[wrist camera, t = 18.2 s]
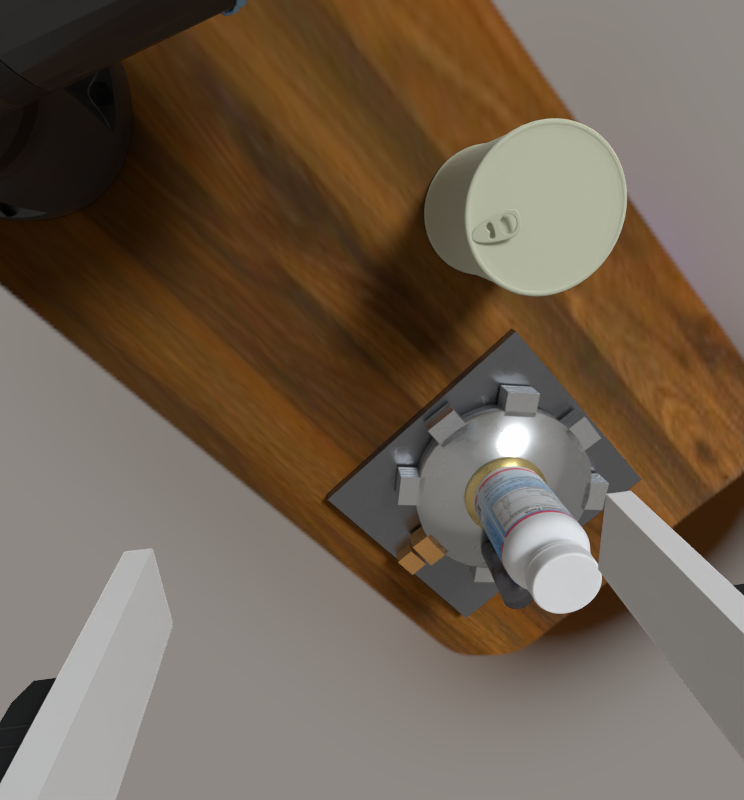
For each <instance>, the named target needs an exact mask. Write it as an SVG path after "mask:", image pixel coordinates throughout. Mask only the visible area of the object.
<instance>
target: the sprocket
mask: <svg viewBox="0 0 744 800" xmlns="http://www.w3.org/2000/svg"><path fill="white" fill-rule="evenodd" d="M539 397H540V393H538V392H537V391H536V390H535V389H534V388H532V387H527V386H508V385H501V387H500V393H499V399H498V404H493V405H488V406H484V407H480V408H477V409H475V410H472V411H470V412H467V413H465V414H463V415H462V416H460V415H459V414H458V413H457V412H456V411H455V410H454V408H453V407H452V406H451V405H450V404H449V403H447V404H446V405H445V406H443V407H442V408H441V409H440V410H438V411H437V412H436V413H435V414H433V415H432V416H431V417H430V418H429V419H427V420H426V421H425V422H424V424H425V426H426V428H427V430H428V432H429V433H430V434H431V435H432V436H433V437H434V438H433V439H432V441H431V442H430V443H429V445H428V446H427V448H426V449H425V451H424V453H423V455H422V457H421V459H420V460H419V463H418V466H417V467H398V473H397V481H396V490H395V495H396V499H397V503H398V505H415V506H416V510H417V513H418V516H419V519H420V522H421V525H422V526H421V527H420V528H418V529H417V530H416V531H415V532H413V533H412V534H411V535H410V539H411V543H412V546H413V548H414V549H415V550H416V551H417V552H418V553H419V554H420V555H421V556H422V557H423V558H424V559H425V560H426V561H427V562H428V563H429V564H430V565H433V564H434V563H435V562H437V561H438V560H439V559H441V558H442V557H443V556H445V555H447V556H449V557H450V558H452V559H454V560H456V561H458V562H460V563H463V564H466V565H469V571H470V573H471V576H472V578H473V581H474V582H495V584H496V586H497V588H498V590H499V592H500V594H501V596H502V599H503V601H504V603H505V604H506V606H508V607H509V608H512V609H521V608H524V607H526V606H527V605H529V604H530V603H531V601H532V600H533V597H532V595H531V594H530V592H529V591H528V590H527V589H525V588H523V587H521V586H519V585H518V584H517V583H516V582H514V581H513V579H512V578H511V577H510V576H509V574H508V573H507V571H506V569H505V568H504V566H503V564H502V562H501V560H500V558H499V556H498V555H497V553H496V551H495V549H494V547H493V545H492V543H491V541H490V539H489V538H488V536H487V534H486V532H485V530H484V528H483V526H482V524H481V522H480V521H479V519H478V517H477V514H476V512H475V509H474V495H475V492H476V489H477V487H478V485H479V484H480V482H481V481H482V480H483V479H484V478H485V477H486V476H487V475H488V474H489V473H491V472H492V471H494V470H496V469H499V468H502V467H508V466H520V467H524V468H527V469H530V470H532V471H534V472H535V473H536V474H538V475H539V476H540V478H542V480H543V481H544V482H545V483H546V484H547V486H548V487H549V488H550V489H551V491H552V492H553V493H554V494H555V495H556V497H557V498H558V499H559V500H560V501H561V503H562V504H563V505H564V506H565V507H566V509H567V510H568V511H569V512H570V513H571V515H572V516H573V517H574V518H575V519H576V521H577V522H578V521H579V519H580V517H581V516H582V514H583V512H584V510H602V509H603V505H604V501H605V497H606V493H607V490H608V486H609V483H608V482H607V481H606V480H605V479H604V478H603V477H602V476H601V475H600V474H596V473H591V468H590V463H589V459H588V456H587V454H586V452H585V450H586V449H588V448H589V447H590V446H592V445H593V444H594V443H596V442H597V441H598V440H600V439H601V437H600V436H599V434H598V433H597V432H596V430H595V429H594V428H593V426H592V425H591V424H590V422H589V421H588V420H587V418H586V417H585V416H584V415H583V414H581V413H580V412H579V411H577V410H576V409H574V410H572V411H571V412H570V413H569V414H567V415H566V416H565V417H563V418H562V419H561V420H558V419H556V418H555V417H554V416H552V415H551V414H549V413H547V412H545V411H543V410H541V409H538V408H537V407H538V402H539Z"/></svg>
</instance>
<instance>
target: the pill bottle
mask: <svg viewBox="0 0 744 800" xmlns="http://www.w3.org/2000/svg"><path fill="white" fill-rule="evenodd" d="M474 509H475V512H476V514H477V517H478V519H479V521H480V522H481V524H482V526H483V528H484V530H485V532H486V534H487V536H488V538H489V539H490V541H491V543H492V545H493V547H494V549H495V551H496V553H497V555H498V556H499V558H500V560H501V562H502V564H503V566H504V568H505V569H506V571H507V573H508V574H509V576H510V577H511V578H512V579H513V581H514V582H516V583H517V584H518V585H519V586H521V587H523V588H525V589H527V590H528V591H529V592H530V594H531V595H532V597H533V599H534V600H535V602H536V603H537V604H538V605H539V606H540V607H541V608H543V609H544V610H546V611H549V612H552V613H558V614H562V613H569V612H573V611H576V610H578V609H580V608H582V607H584V606H585V605H587V604H588V603H589V602H590V601H591V600H592V599H593V598H594V597H595V596H596V594H597V593H598V591H599V589H600V586H601V581H602V574H601V573H600V571H599V570H598V564H597V562H596V561H595V560H594V558H593V557H592V555H591V554H590V544H589V540H588V537H587V535H586V533H585V531H584V530H583V528H582V527H581V526H580V524H579V523H578V522H577V521H576V519H575V518H574V517H573V516H572V515H571V513H570V512H569V511H568V510H567V509H566V507H565V506H564V505H563V504H562V503H561V501H560V500H559V499H558V498H557V497H556V495H555V494H554V493H553V492H552V491H551V489H550V488H549V487H548V486H547V484H546V483H545V482H544V481H543V480H542V478H540V476H539V475H538V474H536V473H535V472H534V471H532V470H530V469H527V468H524V467H520V466H508V467H502V468H499V469H496V470H494V471H492V472H491V473H489V474H488V475H487V476H486V477H485V478H484V479H483V480H482V481H481V482H480V484H479V485H478V487H477V489H476V492H475V495H474Z"/></svg>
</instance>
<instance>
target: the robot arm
mask: <svg viewBox="0 0 744 800" xmlns="http://www.w3.org/2000/svg"><path fill="white" fill-rule="evenodd" d="M246 2H247V0H0V219H5V220H20V221H25V220H47V219H54V218H59V217H63V216H66V215H69V214H72V213H74V212H77V211H79V210H81V209H83V208H85V207H86V206H88V205H90V204H91V203H92V202H94V201H95V200H96V199H98V198H99V197H100V196H101V195H102V194H103V193H104V192H105V191H106V190H107V189H108V188H109V186H110V185H111V184H112V183H113V181H114V180H115V178H116V177H117V175H118V173H119V171H120V169H121V167H122V165H123V163H124V161H125V158H126V155H127V152H128V148H129V144H130V138H131V131H132V105H131V96H130V91H129V86H128V82H127V78H126V75H125V72H124V68H123V66H122V63H121V60H124V59H126V58H128V57H130V56H132V55H134V54H136V53H138V52H140V51H142V50H144V49H146V48H149V47H151V46H153V45H155V44H157V43H159V42H161V41H163V40H165V39H167V38H169V37H172V36H174V35H176V34H178V33H180V32H182V31H184V30H186V29H188V28H190V27H192V26H194V25H197V24H199V23H201V22H203V21H205V20H207V19H209V18H211V17H213V16H215V15H217V14H220V13H221V14H223V15H224V16H230V15H232V14H235V13H237V12H238V11H239V9H240V8H242V7H243V6H244V5H245V4H246ZM598 570H599V571H600V573H601V574H602V575H603V577H604V578H605V579H606V581H607V582H608V583H609V585H610V586H611V587H612V588H613V590H614V591H615V592H616V594H617V595H618V596H619V598H620V599H621V600H622V602H623V603H624V604H625V605H626V607H627V608H628V609H629V611H630V612H631V613H632V615H633V616H634V617H635V619H636V620H637V621H638V623H639V624H640V625H641V626H642V628H643V629H644V630H645V632H646V633H647V634H648V636H649V637H650V638H651V640H652V641H653V642H654V644H655V645H656V646H657V647H658V649H659V650H660V651H661V653H662V654H663V655H664V657H665V658H666V659H667V661H668V662H669V663H670V665H671V666H672V667H673V668H674V670H675V671H676V672H677V674H678V675H679V676H680V678H681V679H682V680H683V681H684V683H685V684H686V685H687V687H688V688H689V689H690V691H691V692H692V693H693V694H694V696H695V697H696V699H697V700H698V701H699V703H700V704H701V705H702V706H703V708H704V709H705V710H706V712H707V713H708V714H709V715H710V717H711V718H712V720H713V721H714V722H715V723H716V725H717V726H718V727H719V729H720V730H721V731H722V733H723V734H724V735H725V737H726V738H727V739H728V741H729V742H730V743H731V744H732V746H733V747H734V748H735V750H736V751H737V752H738V754H739V755H740V756H741V758H742V759H743V760H744V584H740V585H732V584H730V582H729V581H728V580H727V579H725V578H724V577H723V576H722V575H721V574H720V573H719V572H718V571H717V570H716V569H715V568H714V567H712V566H711V565H710V564H709V563H708V562H707V561H706V560H705V559H704V558H703V557H702V556H701V555H700V554H698V553H697V552H696V551H695V550H694V549H693V548H692V547H691V546H690V545H689V544H688V543H686V541H684V540H683V539H682V538H681V537H680V536H679V535H678V534H677V533H676V532H675V531H674V530H673V529H671V528H670V527H669V526H668V525H667V524H666V523H665V522H664V521H663V520H662V519H661V518H660V517H659V516H657V515H656V514H655V513H654V512H653V511H652V510H651V509H650V508H649V507H648V506H647V505H646V504H645V503H643V502H642V501H641V500H640V499H639V498H638V497H637V496H636V495H635V494H634V493H633V492H632V491H626V492H618V493H609V494H606V500H605V509H604V518H603V527H602V536H601V545H600V555H599V564H598ZM172 627H173V622H172V618H171V615H170V611H169V607H168V603H167V599H166V596H165V592H164V588H163V585H162V581H161V578H160V574H159V570H158V566H157V562H156V559H155V555H154V552H153V548H151V549H142V550H133V551H125V552H124V553H123V555H122V557H121V559H120V561H119V562H118V564H117V566H116V568H115V570H114V572H113V574H112V576H111V578H110V579H109V581H108V583H107V585H106V587H105V589H104V591H103V592H102V594H101V596H100V598H99V600H98V602H97V604H96V605H95V607H94V609H93V611H92V613H91V615H90V617H89V619H88V620H87V622H86V624H85V626H84V628H83V630H82V632H81V633H80V635H79V637H78V639H77V641H76V643H75V645H74V647H73V648H72V650H71V652H70V654H69V656H68V658H67V660H66V662H65V663H64V665H63V667H62V669H61V671H60V673H59V675H58V677H57V678H53V679H45V680H38V681H33V682H32V683H31V684H30V685H29V686H28V687H27V688H26V689H25V690H24V691H23V692H22V693H21V694H20V695H19V696H18V697H17V698H16V699H15V700H14V701H13V702H12V703H11V705H10V706H9V708H8V710H7V711H6V713H5V715H4V717H3V718H2V720H1V722H0V800H116V797H117V794H118V791H119V788H120V785H121V782H122V779H123V776H124V773H125V770H126V767H127V763H128V761H129V758H130V755H131V751H132V748H133V745H134V742H135V739H136V736H137V733H138V730H139V727H140V724H141V721H142V718H143V715H144V712H145V709H146V706H147V703H148V700H149V697H150V693H151V691H152V688H153V685H154V682H155V679H156V676H157V672H158V669H159V666H160V663H161V660H162V657H163V654H164V651H165V648H166V645H167V642H168V639H169V636H170V633H171V630H172Z"/></svg>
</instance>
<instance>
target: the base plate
mask: <svg viewBox="0 0 744 800" xmlns="http://www.w3.org/2000/svg"><path fill="white" fill-rule="evenodd" d="M501 385H508V386H527V387H532V388H534V389H535V390H536V391H537V392H538V393H540V397H539V402H538V407H537V408H538V409H541V410H543V411H545V412H547V413H549V414H551V415H552V416H554V417H555V418H556V419H558V420H561V419H562V418H563V417H565V416H566V415H567V414H569V413H570V412H571V411H572V410H574V409H576V410H577V411H579V412H580V413H581V414H583V415H584V416H585V417H586V418H587V420H588V421H589V422H590V424H591V425H592V426H593V428H594V429H595V430H596V432H597V433H598V434H599V436H600V437H601V439H600V440H598V441H597V442H596V443H594V444H593V445H592V446H590V447H589V448H588V449H586V450H585V452H586V454H587V456H588V459H589V463H590V468H591V473H596V474H600V475H601V476H602V477H603V478H604V479H605V480H606V481H607V482H608V483H609V486H608V490H607V493H606V494H609V493H618V492H626V491H627V490H629V489H630V488H631V487H632V486H634V485H635V484H636V483H637V482H639V481H640V480H641V478H640V477H639V476H638V475H637V473H636V472H635V471H634V470H633V469H632V468H631V466H630V465H629V464H628V463H627V462H626V460H625V459H624V458H623V457H622V456H621V455H620V453H619V452H618V451H617V450H616V449H615V448H614V446H613V445H612V444H611V443H610V442H609V440H608V439H607V438H606V437H605V436H604V435H603V433H602V432H601V431H600V430H599V429H598V428H597V426H596V425H595V424H594V423H593V422H592V420H591V419H590V418H589V417H588V416H587V415H586V413H585V412H584V411H583V410H582V409H581V407H580V406H579V405H578V404H577V403H576V402H575V400H574V399H573V398H572V397H571V396H570V395H569V393H568V392H567V391H566V390H565V389H564V387H563V386H562V385H561V384H560V383H559V382H558V380H557V379H556V378H555V377H554V376H553V374H552V373H551V372H550V371H549V370H548V369H547V367H546V366H545V365H544V364H543V363H542V362H541V360H540V359H539V358H538V357H537V356H536V354H535V353H534V352H533V351H532V350H531V349H530V347H529V346H528V345H527V344H526V343H525V342H524V340H523V339H522V338H521V337H520V336H519V334H518V333H517V332H516V331H514V330H513V329H511V330H510V331H509V332H507V333H506V334H505V335H504V336H503V337H502V338H501V339H500V340H499V341H497V342H496V343H495V344H494V345H493V346H492V347H491V348H490V349H489V350H487V351H486V352H485V353H484V354H483V355H482V356H481V357H480V358H478V359H477V360H476V361H475V362H474V363H473V364H472V365H471V366H470V367H468V368H467V369H466V370H465V371H464V372H463V373H462V374H461V375H459V376H458V377H457V378H456V379H455V380H454V381H453V382H452V383H451V384H449V385H448V386H447V387H446V388H445V389H444V390H443V391H442V392H441V393H439V394H438V395H437V396H436V397H435V398H434V399H433V400H432V401H430V402H429V403H428V404H427V405H426V406H425V407H424V408H423V409H422V410H420V411H419V412H418V413H417V414H416V415H415V416H414V417H413V418H411V419H410V420H409V421H408V422H407V423H406V424H405V425H404V426H403V427H401V428H400V429H399V430H398V431H397V432H396V433H395V434H394V435H393V436H391V437H390V438H389V439H388V440H387V441H386V442H385V443H384V444H382V445H381V446H380V447H379V448H378V449H377V450H376V451H375V452H374V453H372V454H371V455H370V456H369V457H368V458H367V459H366V460H365V461H363V462H362V463H361V464H360V465H359V466H358V467H357V468H356V469H355V470H353V471H352V472H351V473H350V474H349V475H348V476H347V477H346V478H345V479H343V480H342V481H341V482H340V483H339V484H338V485H337V486H336V487H334V488H333V489H332V490H331V491H330V492H329V493H328V494H327V495H328V500H329V501H330V502H331V503H332V504H333V505H334V506H336V507H337V508H338V509H339V510H340V511H341V512H343V513H344V514H345V515H346V516H347V517H349V518H350V519H351V520H352V521H353V522H354V523H356V524H357V525H358V526H359V527H360V528H361V529H363V530H364V531H365V532H366V533H367V534H368V535H370V536H371V537H372V538H373V539H374V540H375V541H377V542H378V543H379V544H380V545H381V546H382V547H384V548H385V549H386V550H387V551H388V552H389V553H391V554H392V555H393V556H394V557H395V558H396V559H397V560H398V563H399V564H400V565H402V566H403V567H404V568H405V569H406V570H407V571H409V572H410V573H411V574H412V575H413V574H415V575H416V576H418V577H419V578H420V579H421V580H422V581H423V582H425V583H426V584H427V585H428V586H429V587H430V588H432V589H433V590H434V591H435V592H436V593H437V594H439V595H440V596H441V597H442V598H443V599H444V600H446V601H447V602H448V603H449V604H450V605H451V606H453V607H454V608H455V609H456V610H457V611H458V612H460V613H461V614H462V615H463V616H464V617H466V618H467V617H468V616H469V615H470V614H472V613H473V612H474V611H475V610H477V609H478V608H479V607H480V606H482V605H483V604H484V603H486V602H487V601H488V600H489V599H491V598H492V597H493V596H494V595H496V594H497V593H498V592H499V590H498V588H497V586H496V584H495V582H474V581H473V578H472V576H471V573H470V571H469V565H466V564H463V563H460V562H458V561H456V560H454V559H452V558H450V557H449V556H447V555H445V556H443V557H442V558H441V559H439V560H438V561H437V562H435V563H434V564H433V565H430V564H429V563H428V562H427V561H426V560H425V559H424V558H423V557H422V556H421V555H420V554H419V553H418V552H417V551H416V550H415V549H414V548H413V546H412V543H411V539H410V535H411V534H412V533H413V532H415V531H416V530H417V529H418V528H420V527H421V526H422V525H421V522H420V519H419V516H418V513H417V510H416V506H415V505H398V503H397V499H396V495H395V490H396V481H397V473H398V467H417V466H418V463H419V460H420V459H421V457H422V455H423V453H424V451H425V449H426V448H427V446H428V445H429V443H430V442H431V441H432V439H433V438H434V437H433V436H432V435H431V434H430V433H429V432H428V430H427V428H426V426H425V424H424V422H425V421H426V420H427V419H429V418H430V417H431V416H432V415H433V414H435V413H436V412H437V411H438V410H440V409H441V408H442V407H443V406H445V405H446V404H447V403H449V404H450V405H451V406H452V407H453V408H454V410H455V411H456V412H457V413H458V414H459V415H460V416H462V415H463V414H465V413H467V412H470V411H472V410H475V409H477V408H480V407H484V406H488V405H493V404H498V399H499V393H500V387H501ZM605 500H606V497H605ZM604 508H605V501H604V505H603V509H604ZM603 509H602V510H603ZM602 510H584V512H583V514H582V516H581V517H580V519H579V521H578V523H579V524H580V526H581V527H582V526H583V525H584V524H586V523H587V522H588V521H589V520H591V519H592V518H593V517H594V516H596V515H597V514H598V513H599V512H601V511H602Z"/></svg>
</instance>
